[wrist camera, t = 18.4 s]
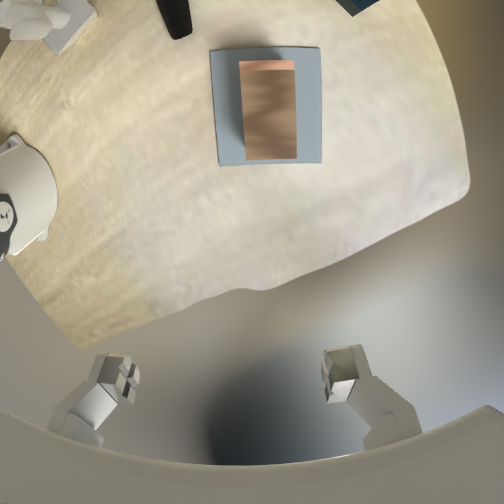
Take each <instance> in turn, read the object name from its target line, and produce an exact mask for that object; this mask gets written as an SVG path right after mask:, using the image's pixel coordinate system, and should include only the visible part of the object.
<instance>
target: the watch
mask: <svg viewBox="0 0 504 504" xmlns="http://www.w3.org/2000/svg"><path fill="white" fill-rule="evenodd" d="M336 1H337V2H338V3H339V4H340V5H341V6H342V7H343V8H344V9H345V10H346V11H347V12H348V13H349V14H350V15H351V16H352V17H353V16H355V15H356V14H358V13H359V12H361V11H363V10H364V9H366V8H367V7H369V6H371V5H372V4H374V3H376V2H377V1H379V0H336Z"/></svg>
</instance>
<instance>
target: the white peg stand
mask: <svg viewBox="0 0 504 504" xmlns="http://www.w3.org/2000/svg"><path fill="white" fill-rule="evenodd" d="M42 2H43V0H3V1H2V2H1V3H0V27H4V28H8V29H11V31H10V35H9V36H10V39H11V40H13V41H24V40H40V39H43V40H44V41H45V42H46V44H47V45H48V46H49V47H50V49H51V50H52V51H53V52H54V53H55V55H56V56H57V55H59V54H60V53H61V52H63V51H64V50H65V49H67V48H68V47H69V46H71V45H72V44H73V43H75V42H76V41H77V39H78V38H79V37H80V36H81V35H82V34H83V33H84V31H85V30H86V29H87V28H88V27H89V26H90V25H91V24H92V23H93V22H94V21H95V20H96V19H97V11H96V9H95V8H94V7H93V6H92V5H91V4H90V3H89V2H88V1H87V0H58V1H57V2H56V3H55V4H54V5H53V6H47V5H41V4H42Z"/></svg>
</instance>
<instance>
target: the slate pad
mask: <svg viewBox="0 0 504 504" xmlns="http://www.w3.org/2000/svg"><path fill="white" fill-rule="evenodd" d="M210 58H211V72H212V85H213V98H214V110H215V121H216V132H217V143H218V154H219V164H220V167H222V166H237V165H256V164H289V163H321V159H322V79H321V53H320V49H316V48H296V47H263V48H242V49H229V50H219V51H210ZM259 60H294V69H295V92H296V126H297V159H269V160H248V161H246V153H245V139H244V124H243V110H242V95H241V81H240V67H239V62H241V61H259Z"/></svg>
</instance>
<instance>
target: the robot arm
mask: <svg viewBox="0 0 504 504" xmlns="http://www.w3.org/2000/svg"><path fill="white" fill-rule="evenodd" d="M56 208H57V188H56V183H55V179H54V176H53V174H52V171H51V169H50V167H49V165H48V163H47V162H46V160H45V159H44V158H43V156H42V155H41V154H40V153H39V152H37V151H36V150H35V149H33V148H31V147H29V146H27V145H26V144H25V143H24V141H23V140H22V139H21V137H20V136H19V135H18V134H14V135H12V136H11V137H10V138H8V139H7V140H6V141H5V142H4V143H3V144H2V145H1V146H0V261H1V260H2V258H3V257H4V256H5V255H6V254H10V255H12V254H13V255H17V254H18V253H19V252H20V251H22V250H23V249H24V248H25V247H26V246H27V245H29V244H30V243H31V242H32V241H33V240H37V241H43V240H45V239H46V238H47V236H48V228H49V224H50V222H51V221H52V219H53V217H54V215H55V212H56ZM323 356H324V359H323V360H322V364H321V374H322V380H323V382H324V383H326V387H325V395H326V400H327V403H333V402H341V401H347V403H348V404H349V405H350V406H351V407H352V408H353V409H354V410H355V411H356V412H357V413H358V414H359V415H360V416H361V417H362V418H363V419H364V421H365V422H367V424H368V425H369V426H370V427H371V428H372V429H371V430H370V431H369V432H368V434H367V435H366V436H365V437H364V438H363V443H364V448H365V451H362V452H357V453H353V454H348V455H344V456H338V457H333V458H327V459H321V460H314V461H308V462H298V463H288V464H277V465H259V466H217V465H199V464H186V463H177V462H169V461H161V460H155V459H148V458H143V457H137V456H132V455H128V454H123V453H118V452H114V451H110V450H106V449H102V444H103V439H104V438H103V436H102V435H101V434H99V433H98V432H97V431H95V430H96V429H97V428H98V427H99V426H100V424H101V423H102V422H103V421H104V420H105V419H106V417H107V416H108V415H109V414H110V413H111V411H112V410H113V409H114V408H115V407H116V406H117V403H119V404H127V405H133V404H134V400H135V396H136V391H135V389H134V388H135V387H136V386H137V385H138V384H139V380H140V377H139V376H140V373H139V370H138V367H137V366H136V365H135V364H133V363H132V358H131V357H130V356H129V355H121V354H111V353H102V352H99V354H97V356H96V358H95V361H94V364H93V366H92V369H91V372H90V374H89V377H88V379H87V381H84V382H82V383H81V384H80V385H79V386H78V387H77V388H75V389H74V390H73V391H72V392H71V393H70V394H69V395H68V396H66V397H65V398H64V399H63V400H62V401H61V402H60V403H58V404H57V405H56V406H55V407H54V408H53V412H52V414H51V417H50V420H49V423H48V426H47V429H46V430H45V429H43V428H40V427H38V426H36V425H33V424H31V423H29V422H27V421H25V420H22V419H20V418H18V417H16V416H14V415H12V414H10V413H8V412H6V411H4V410H0V504H504V414H503V413H502V412H500V411H498V410H497V409H495V408H494V407H491V406H489V405H485V406H482V407H480V408H478V409H476V410H474V411H472V412H470V413H468V414H466V415H464V416H462V417H460V418H458V419H455V420H453V421H451V422H449V423H446V424H444V425H442V426H439V427H437V428H435V429H432V430H429V431H427V432H424V433H422V430H421V427H420V424H419V420H418V417H417V414H416V411H415V408H414V406H413V405H411V404H410V403H409V402H408V401H406V400H405V399H404V398H403V397H401V396H400V395H399V394H398V393H396V392H395V391H394V390H393V389H391V388H390V387H389V386H388V385H386V384H385V383H384V382H383V381H382V380H380V379H379V378H378V377H377V376H372V374H371V371H370V368H369V364H368V361H367V358H366V356H365V353H364V350H363V347H362V346H361V344H356V345H351V346H342V347H336V348H329V349H325V350H324V353H323Z"/></svg>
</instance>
